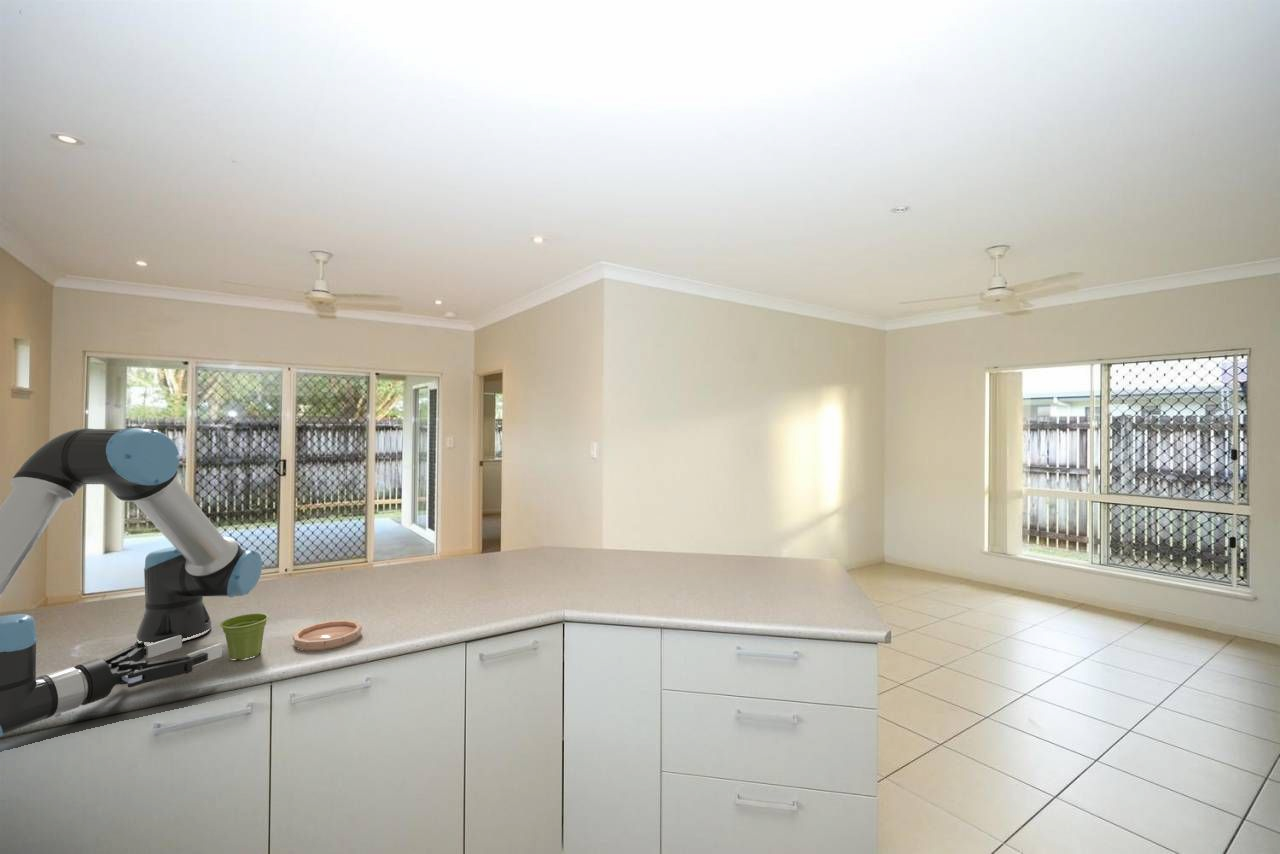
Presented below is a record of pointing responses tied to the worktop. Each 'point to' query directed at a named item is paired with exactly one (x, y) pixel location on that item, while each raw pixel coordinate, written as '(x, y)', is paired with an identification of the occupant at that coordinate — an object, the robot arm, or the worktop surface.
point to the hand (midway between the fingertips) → (200, 645)
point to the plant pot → (244, 635)
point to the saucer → (327, 635)
